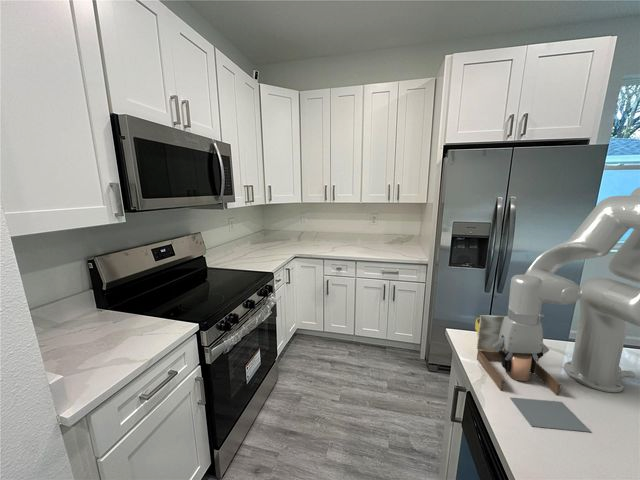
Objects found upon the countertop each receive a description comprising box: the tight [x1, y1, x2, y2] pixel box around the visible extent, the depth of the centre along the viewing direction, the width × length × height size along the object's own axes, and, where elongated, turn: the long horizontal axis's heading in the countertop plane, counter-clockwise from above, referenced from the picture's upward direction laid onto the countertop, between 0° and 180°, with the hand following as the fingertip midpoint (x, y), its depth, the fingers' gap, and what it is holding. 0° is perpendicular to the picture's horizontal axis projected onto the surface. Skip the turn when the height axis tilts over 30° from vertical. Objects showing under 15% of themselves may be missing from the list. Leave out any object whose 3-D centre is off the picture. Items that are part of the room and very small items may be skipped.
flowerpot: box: [504, 353, 532, 382], centre depth 79 cm, size 6×6×7 cm
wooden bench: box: [476, 314, 562, 396], centre depth 79 cm, size 15×15×16 cm
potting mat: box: [509, 396, 592, 433], centre depth 66 cm, size 13×9×1 cm
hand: (517, 369), depth 79 cm, fingers closed on flowerpot, 6 cm apart
